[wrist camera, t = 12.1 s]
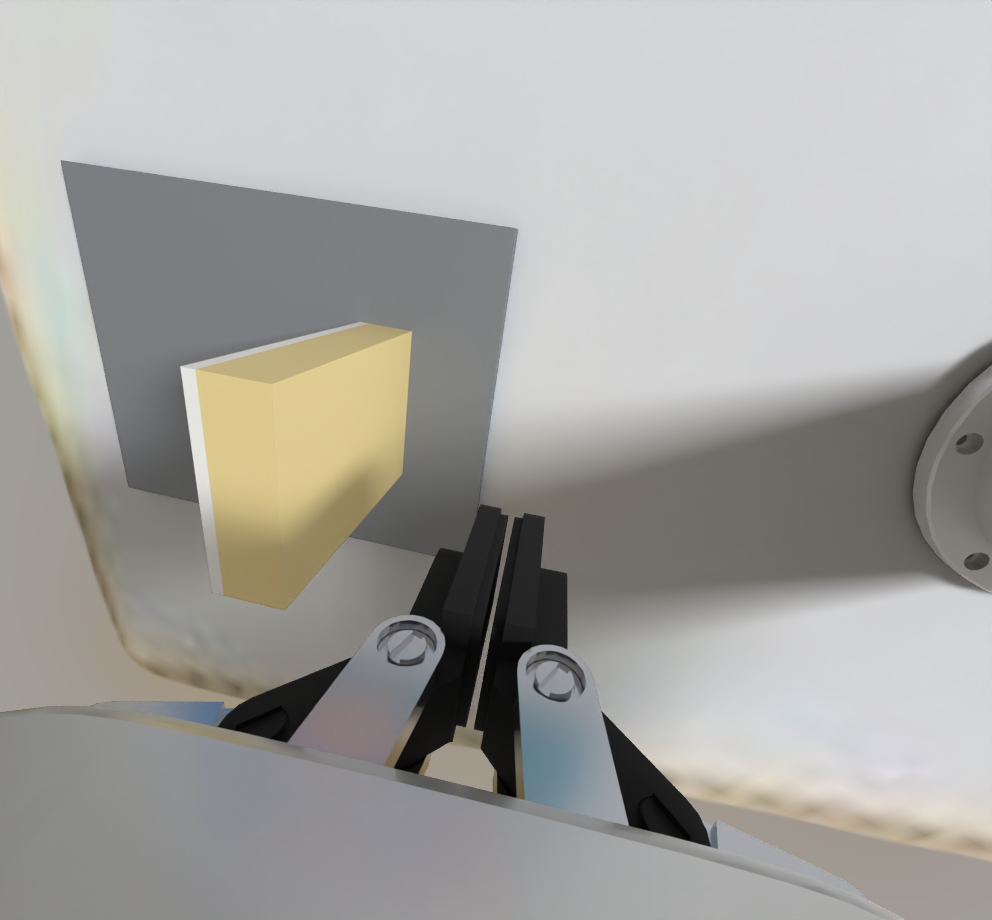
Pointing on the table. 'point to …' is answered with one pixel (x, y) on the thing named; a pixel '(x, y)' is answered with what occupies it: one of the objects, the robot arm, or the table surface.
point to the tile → (294, 452)
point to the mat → (293, 321)
